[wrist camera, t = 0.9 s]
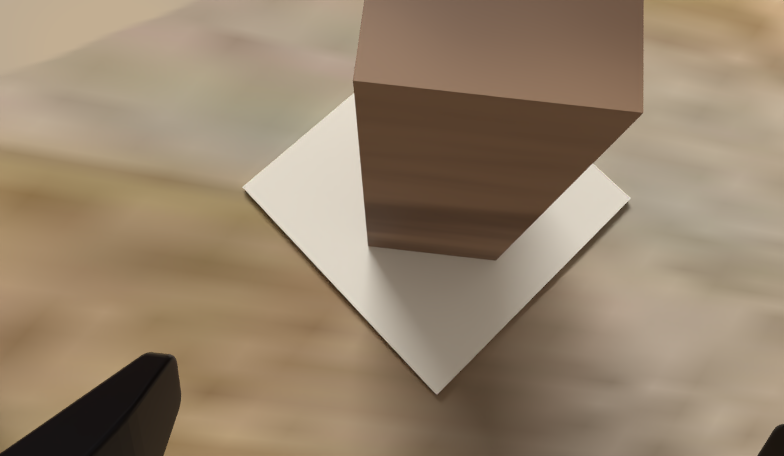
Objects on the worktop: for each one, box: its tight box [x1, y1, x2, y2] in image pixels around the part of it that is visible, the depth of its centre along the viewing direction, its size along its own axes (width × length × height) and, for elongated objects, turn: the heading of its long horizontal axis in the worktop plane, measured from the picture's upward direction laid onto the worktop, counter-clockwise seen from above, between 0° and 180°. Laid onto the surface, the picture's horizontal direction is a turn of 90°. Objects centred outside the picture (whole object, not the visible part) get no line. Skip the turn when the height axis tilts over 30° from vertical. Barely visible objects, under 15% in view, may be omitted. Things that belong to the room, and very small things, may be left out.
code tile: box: [243, 93, 631, 395], centre depth 23 cm, size 11×11×1 cm
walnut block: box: [353, 0, 643, 261], centre depth 17 cm, size 5×5×13 cm
